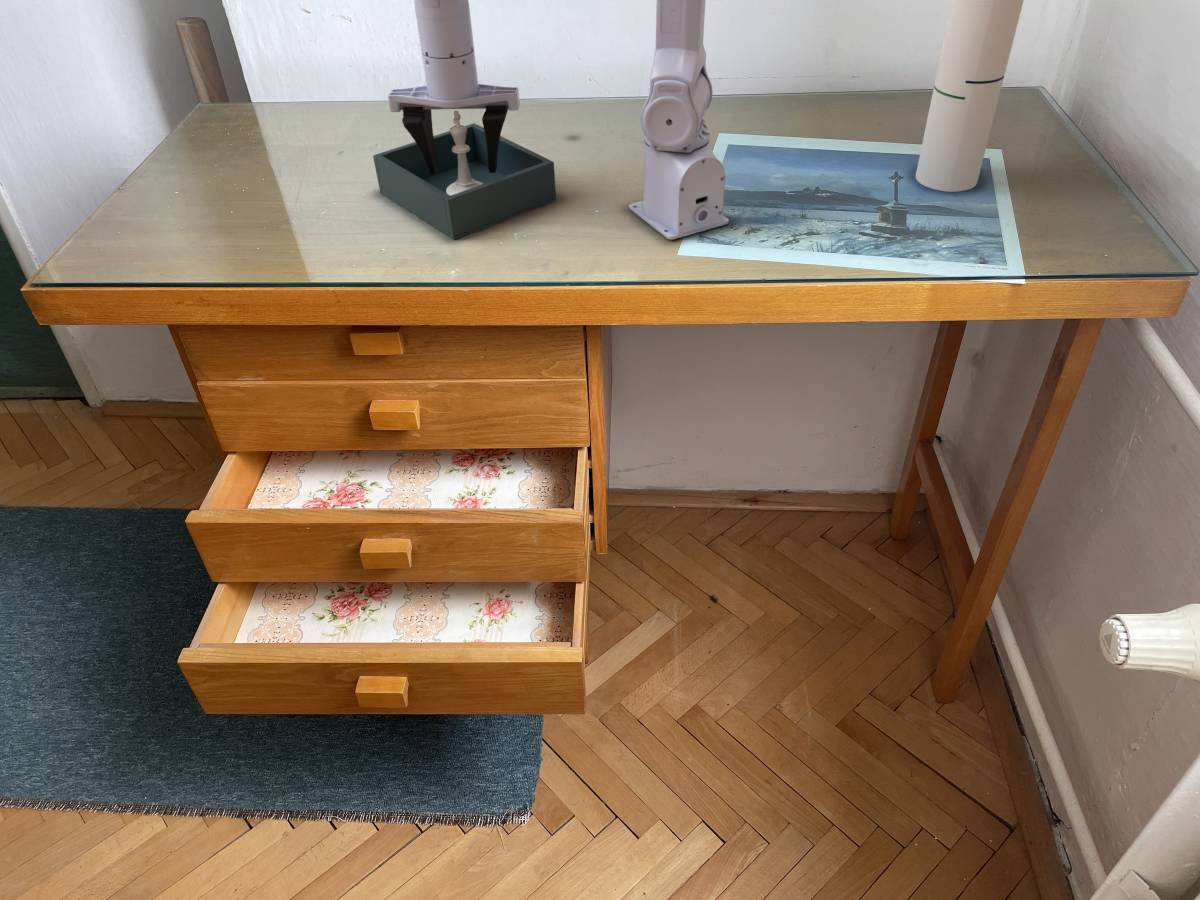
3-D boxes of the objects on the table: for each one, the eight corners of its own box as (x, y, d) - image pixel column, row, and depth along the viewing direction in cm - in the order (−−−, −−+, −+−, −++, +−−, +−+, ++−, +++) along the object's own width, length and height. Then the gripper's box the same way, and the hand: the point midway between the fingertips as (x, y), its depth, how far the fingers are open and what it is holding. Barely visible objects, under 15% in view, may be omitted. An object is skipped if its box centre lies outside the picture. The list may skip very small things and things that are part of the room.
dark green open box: (556, 200, 109) (554, 161, 106) (453, 240, 102) (447, 200, 99) (478, 159, 119) (474, 122, 116) (379, 193, 112) (372, 155, 109)
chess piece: (490, 185, 112) (481, 103, 106) (482, 203, 108) (472, 120, 102) (451, 185, 113) (439, 103, 106) (442, 202, 109) (429, 119, 102)
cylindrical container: (980, 193, 107) (1041, -43, 91) (917, 189, 109) (966, -44, 92) (973, 168, 113) (1030, -59, 96) (913, 165, 114) (960, -60, 98)
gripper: (517, 37, 102) (527, 155, 111) (389, 40, 103) (409, 156, 112) (510, 58, 97) (521, 179, 106) (376, 60, 98) (397, 181, 106)
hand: (463, 169), depth 108 cm, fingers open, 6 cm apart
